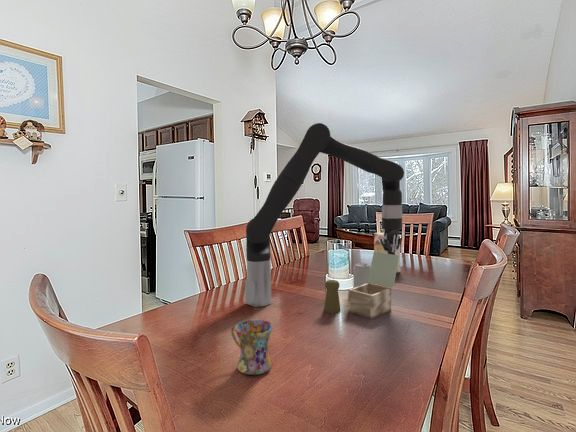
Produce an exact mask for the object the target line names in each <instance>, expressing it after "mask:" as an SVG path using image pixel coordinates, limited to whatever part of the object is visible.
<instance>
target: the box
mask: <svg viewBox="0 0 576 432" xmlns="http://www.w3.org/2000/svg"><path fill="white" fill-rule="evenodd" d="M347 294H348V303H347V307H348V312H349V313H352V314H355V315H358V316H361V317H365V318H367V319H371V320H374V319H376V318H378V317H380V316H382V315H384V314H387V313H388V312H391V311H392V288H390V287H386V286H381V285H377V284H372V283H371V284H369V283H367V284H364V285H361V286H358V287H355V288H349V289H348V293H347Z"/></svg>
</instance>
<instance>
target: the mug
mask: <svg viewBox="0 0 576 432" xmlns="http://www.w3.org/2000/svg"><path fill="white" fill-rule="evenodd" d="M273 328H274V326H273V324H272V322H270V321H268V320H265V319H254V318H253V319H247V320H243V321H240V322H239V323H237V324H235V326H232V328H231V331H230V333H231V336H232V339H233V341H234V343H235V344H236V346H238V347H239V349H240V356H239V360H238V362H237V365H236V367H237V370H238V371H239V372H240V373H242V374H245V375H251V376H257V375H261V374H264V373H266V372H268V371H269V370H270V369H271V367H272V364H273V363H272V360H271V358H270V355H269V348H268V347H269V341H270V335H271V333H272V331H273ZM235 333H236V335H235ZM236 336H237V337H236ZM237 338H238V339H237Z"/></svg>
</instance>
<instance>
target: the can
mask: <svg viewBox="0 0 576 432" xmlns="http://www.w3.org/2000/svg"><path fill="white" fill-rule="evenodd" d="M370 268H371V264H369V263H366V262H365V263H364V262H362V263H361V262H359V263H355V264H354V266H353V271H352V274H353V281H352V282H353V284H352V287H353V288H355V287H358V286H361V285H364V284H367V283H368V278H369V273H370ZM369 284H372V283H369Z"/></svg>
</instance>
